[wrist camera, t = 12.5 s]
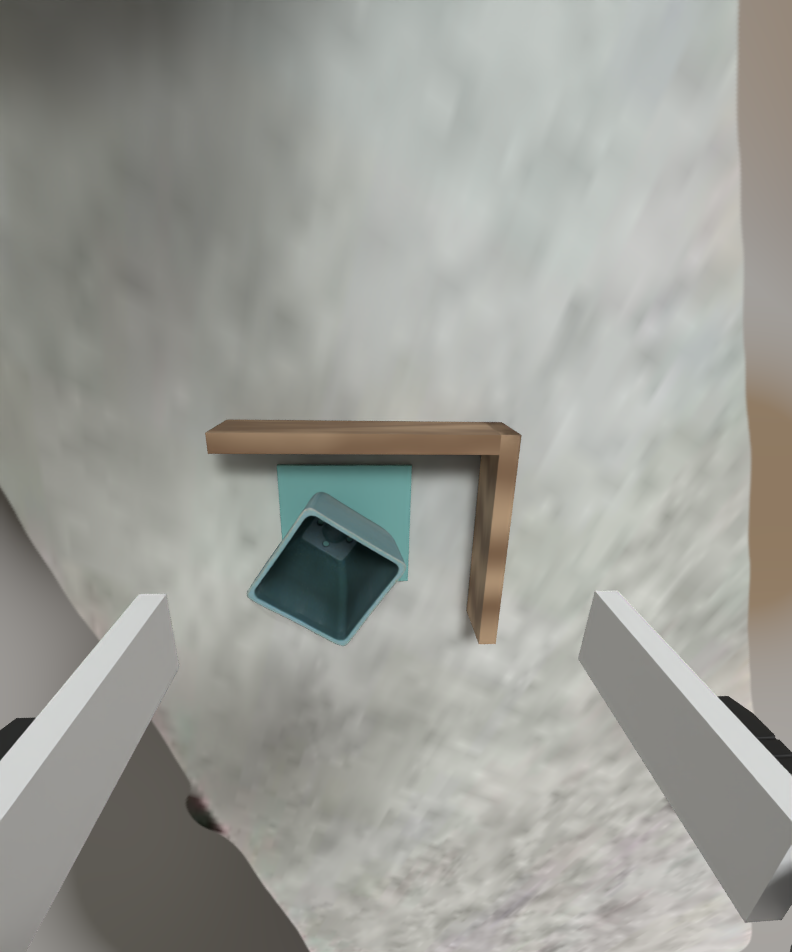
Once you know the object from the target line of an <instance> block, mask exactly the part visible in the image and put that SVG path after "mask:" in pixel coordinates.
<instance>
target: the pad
mask: <svg viewBox="0 0 792 952" xmlns="http://www.w3.org/2000/svg"><path fill="white" fill-rule="evenodd" d="M411 474H412V465H302V464H278V465H277V475H278V489H279V503H280V516H281V530H282V540H283V538H284V537H285V536H286V534H287V533H288V531H289V530H290V528H291V527H292V525H293V524H294V523H295V521H296V520H297V518H298V517H299V515H300V514H301V512H302V511H303V509H304V508H305V506H306V505H307V503H308V502H309V500H310V499H311V498H312V496H313V495H314V494H316V493H318V492H325V493H327V494H329V495H330V496H332V497H334V498H335V499H337V500H338V501H340V502H341V503H343V504H345V505H346V506H348V507H350V508H351V509H353V510H354V511H356V512H358V513H359V514H361V515H363V516H364V517H366V518H368V519H369V520H371V521H373V522H374V523H376V524H378V525H379V526H381V527H382V528H384V529H385V530H386V531H387V532H388V533H389V534H390V535H391V536H392V537H393V539H394V540H395V542H396V544H397V546H398V548H399V551H400V553H401V555H402V558H403V560H404V562H405V564H406V570H405V572H404V573H403V575H402V576H401V578H399V580H398V581H408V555H409V528H410V501H411ZM318 523H319V524H323V520H319V521H318ZM347 541H352V538H351V537H348V538H347ZM323 544H324V545H325V546H328V545H329V542H327V541H324V542H323Z"/></svg>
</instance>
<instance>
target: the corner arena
mask: <svg viewBox="0 0 792 952" xmlns="http://www.w3.org/2000/svg"><path fill="white" fill-rule="evenodd" d="M205 435H206V443H207V451H208V454H412V455H481V462H480V473H479V483H478V494H477V505H476V516H475V526H474V537H473V548H472V558H471V569H470V580H469V590H468V601H467V613H468V616H469V618H470V621H471V624H472V627H473V629H474V632H475V635H476V638H477V641H478V643H479V644H496V636H497V628H498V620H499V612H500V604H501V596H502V588H503V580H504V572H505V564H506V556H507V548H508V540H509V532H510V524H511V516H512V507H513V499H514V491H515V483H516V475H517V467H518V459H519V451H520V443H521V435H520V434H519V433H517V432H516V431H514V430H513V429H511V428H510V427H508V426H507V425H505V424H504V423H502V422H414V421H313V420H225V421H224V422H222V423H221V424H219V425H217V426H216V427H214V428H212V429H211V430H209V431H207V432H206V433H205Z"/></svg>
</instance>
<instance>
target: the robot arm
mask: <svg viewBox="0 0 792 952" xmlns="http://www.w3.org/2000/svg"><path fill="white" fill-rule="evenodd" d="M578 659H579V661H580V663H581V664H582V666H583V667H584V669H585V670H586V672H587V674H588V675H589V677H590V678H591V680H592V682H593V683H594V685H595V686H596V688H597V689H598V691H599V693H600V694H601V696H602V697H603V699H604V701H605V702H606V704H607V705H608V707H609V708H610V710H611V712H612V713H613V715H614V716H615V718H616V719H617V721H618V723H619V724H620V726H621V727H622V729H623V731H624V732H625V734H626V735H627V737H628V738H629V740H630V742H631V743H632V745H633V746H634V748H635V750H636V751H637V753H638V754H639V756H640V757H641V759H642V761H643V762H644V764H645V765H646V767H647V769H648V770H649V772H650V773H651V775H652V776H653V778H654V780H655V781H656V783H657V784H658V786H659V787H660V789H661V791H662V792H663V794H664V795H665V797H666V799H667V800H668V802H669V803H670V805H671V806H672V808H673V810H674V811H675V813H676V814H677V816H678V818H679V819H680V821H681V822H682V824H683V825H684V827H685V829H686V830H687V832H688V833H689V835H690V836H691V838H692V840H693V841H694V843H695V844H696V846H697V848H698V849H699V851H700V852H701V854H702V855H703V857H704V859H705V860H706V862H707V863H708V865H709V867H710V868H711V870H712V871H713V873H714V874H715V876H716V878H717V879H718V881H719V882H720V884H721V885H722V887H723V889H724V890H725V892H726V893H727V895H728V897H729V898H730V900H731V901H732V903H733V904H734V906H735V908H736V909H737V911H738V912H739V914H740V916H741V917H742V919H743V920H744V922H745V923H747V922H760V921H773V920H782V919H783V917H784V916H785V914H786V913H787V911H788V910H789V908H790V906H791V905H792V752H791V751H790V750H789V749H788V748H787V747H786V746H785V745H784V744H783V743H782V742H781V741H780V740H777V739H776V738H775V735H774V734H773V733H772V732H771V731H770V730H769V729H768V728H767V727H766V726H765V725H764V724H763V723H762V722H761V721H760V720H759V719H758V718H757V717H756V716H755V715H754V714H753V713H752V712H750V711H749V710H747V709H746V708H744V707H743V706H742V705H740V704H739V703H737V702H736V701H734V700H733V699H732V698H730V697H729V696H716V695H715V694H714V692H713V691H712V690H711V689H710V688H709V687H708V686H707V685H706V684H705V683H704V682H703V681H702V680H701V679H700V678H699V677H698V675H697V674H696V673H695V672H694V671H693V670H692V669H691V668H690V667H689V666H688V665H687V664H686V663H685V662H684V661H683V660H682V658H681V657H680V656H679V655H678V654H677V653H676V652H675V651H674V650H673V649H672V648H671V647H670V646H669V645H668V644H667V642H666V641H665V640H664V639H663V638H662V637H661V636H660V635H659V634H658V633H657V632H656V631H655V630H654V629H653V628H652V627H651V625H650V624H649V623H648V622H647V621H646V620H645V619H644V618H643V617H642V616H641V615H640V614H639V613H638V612H637V611H636V610H635V608H634V607H633V606H632V605H631V604H630V603H629V602H628V601H627V600H626V599H625V598H624V597H623V596H622V595H621V594H620V593H619V591H595V593H594V597H593V601H592V605H591V609H590V613H589V617H588V621H587V625H586V629H585V633H584V637H583V641H582V645H581V649H580V653H579V657H578ZM178 669H179V662H178V656H177V650H176V645H175V639H174V634H173V628H172V622H171V617H170V611H169V606H168V600H167V594H139V595H138V596H137V597H136V598H135V600H134V601H133V602H132V603H131V604H130V606H129V607H128V608H127V609H126V610H125V612H124V613H123V614H122V615H121V616H120V618H119V619H118V620H117V621H116V622H115V624H114V625H113V626H112V627H111V628H110V630H109V631H108V632H107V633H106V634H105V636H104V637H103V638H102V639H101V640H100V642H99V643H98V644H97V645H96V646H95V648H94V649H93V650H92V651H91V653H90V654H89V655H88V656H87V657H86V658H85V660H84V661H83V662H82V663H81V664H80V666H79V667H78V668H77V669H76V671H75V672H74V673H73V674H72V675H71V677H70V678H69V679H68V680H67V682H65V684H64V685H63V686H62V687H61V689H60V690H59V691H58V692H57V693H56V695H55V696H54V697H53V698H52V699H51V701H50V702H49V703H48V704H47V705H46V707H45V708H44V709H43V710H42V711H41V713H40V714H39V715H38V716H37V717H36V718H16V719H15V720H13V721H12V722H11V723H9V724H8V725H7V726H5V727H4V728H3V729H1V730H0V952H26V951H27V949H28V947H29V945H30V943H31V941H32V940H33V938H34V936H35V934H36V932H37V930H38V929H39V927H40V925H41V923H42V921H43V919H44V917H45V916H46V914H47V912H48V910H49V908H50V906H51V904H52V903H53V901H54V899H55V897H56V895H57V893H58V891H59V889H60V888H61V886H62V884H63V882H64V880H65V878H66V876H67V875H68V873H69V871H70V869H71V867H72V865H73V863H74V861H75V860H76V858H77V856H78V854H79V852H80V850H81V849H82V847H83V845H84V843H85V841H86V839H87V837H88V836H89V834H90V832H91V830H92V828H93V826H94V824H95V823H96V820H97V819H98V817H99V815H100V813H101V811H102V810H103V808H104V806H105V804H106V802H107V800H108V799H109V796H110V795H111V793H112V791H113V789H114V787H115V786H116V784H117V782H118V780H119V778H120V776H121V774H122V773H123V771H124V769H125V767H126V765H127V763H128V761H129V760H130V758H131V756H132V754H133V752H134V750H135V748H136V746H137V745H138V743H139V741H140V739H141V737H142V735H143V734H144V732H145V730H146V728H147V726H148V724H149V722H150V721H151V719H152V717H153V715H154V713H155V711H156V709H157V708H158V706H159V704H160V702H161V700H162V698H163V696H164V695H165V693H166V691H167V689H168V687H169V685H170V683H171V682H172V680H173V678H174V676H175V674H176V672H177V670H178ZM790 952H792V945H791V949H790Z"/></svg>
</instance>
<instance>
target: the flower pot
mask: <svg viewBox="0 0 792 952" xmlns="http://www.w3.org/2000/svg"><path fill="white" fill-rule="evenodd" d="M319 520H323V524H319V523H318V521H319ZM348 537H351V538H352V541H347V538H348ZM324 541H327V542H329V545H328V546H325V545H324V544H323V542H324ZM405 570H406V564H405V562H404V560H403V558H402V555H401V553H400V551H399V548H398V546H397V544H396V542H395V540H394V539H393V537H392V536H391V535H390V534H389V533H388V532H387V531H386V530H385V529H384V528H382V527H381V526H379V525H378V524H376V523H374V522H373V521H371V520H369V519H368V518H366V517H364V516H363V515H361V514H359V513H358V512H356V511H354V510H353V509H351V508H350V507H348V506H346V505H345V504H343V503H341V502H340V501H338V500H337V499H335V498H334V497H332V496H330V495H329V494H327V493H325V492H318V493H316V494H314V495H313V496H312V498H311V499H310V500H309V502H308V503H307V505H306V506H305V508H304V509H303V511H302V512H301V514H300V515H299V517H298V518H297V520H296V521H295V523H294V524H293V525H292V527H291V528H290V530H289V531H288V533H287V534H286V536H285V537H284V538H283V540H282V541H281V543H280V544H279V545H278V547H277V548H276V550H275V551H274V553H273V554H272V555H271V557H270V558H269V560H268V561H267V563H266V564H265V566H264V567H263V569H262V570H261V571H260V573H259V574H258V576H257V577H256V579H255V580H254V582H253V583H252V585H251V587H250V588H249V590H248V591H247V597H248V598H249V599H251V600H252V601H254V602H255V603H257V604H259V605H261V606H263V607H265V608H267V609H269V610H271V611H273V612H275V613H277V614H280V615H281V616H283V617H286V618H287V619H289V620H291V621H293V622H295V623H297V624H299V625H301V626H303V627H305V628H307V629H309V630H310V631H312V632H314V633H315V634H318V635H320V636H321V637H323V638H325V639H327V640H329V641H331V642H333V643H335V644H337V645H341V646H346V645H347V644H348V643H349V642H350V641H351V639H352V638H353V637H354V635H355V634H356V633H357V631H358V630H359V629H360V628H361V626H362V625H363V624H364V622H365V621H366V619H367V618H368V617H369V616H370V614H371V613H372V612H373V611H374V609H375V608H376V607H377V606H378V604H379V603H380V602H381V601H382V599H383V598H384V597H385V596H386V594H387V593H388V592H389V591H390V589H391V588H392V587H393V586H394V584H395V583H396V582H397V581H398V580H399V578H401V576H402V575H403V573H404V572H405Z"/></svg>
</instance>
